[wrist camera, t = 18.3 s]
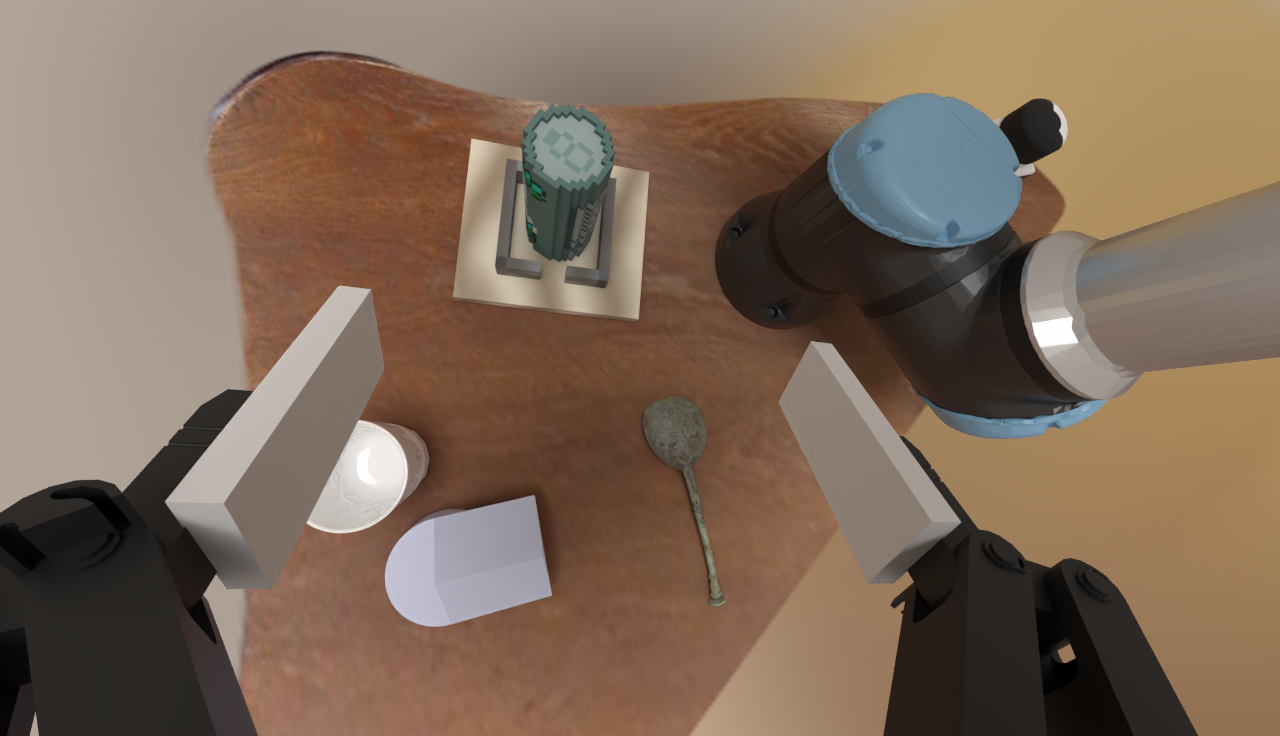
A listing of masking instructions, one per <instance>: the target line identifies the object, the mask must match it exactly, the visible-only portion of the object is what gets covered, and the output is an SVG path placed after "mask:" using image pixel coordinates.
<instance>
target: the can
mask: <svg viewBox="0 0 1280 736" xmlns="http://www.w3.org/2000/svg"><path fill="white" fill-rule="evenodd" d="M605 126H606V124H604V123H603V122H602V121H600V120H599V119H598V118H596V117H595V116H594V115H592V114H591V113H590V112H588V111H587V110H586V109H584V108H583V107H582V106H581V108H580V109H579V110H577V109H576V108H574V107H573V106H572V105H570V104H569V103H568V105H567V106H566V107H564V106H563V105H562V104H560V105H559V106H558V107H555V106H554V105H553V104H552V105H551V106H550V107H549V109H548V110H547V111H546V112H544V111H543V110H541V109H540V110H539V111H538V112H537V114H536V115H535V116H534V117H533V119H532V120H531V121H530V122H529V124H528V125H527V126H526V127H525V129H524V130H523V136H524V140H523V141H522V143H521V144H522V163H523V181H524V200H525V219H526V230H527V236H528V241H529V242H530V243H532V244H533V249H534V250H535V251H537V252H538V253H539V254H541V255H542V256H544V257H545V258H547V259H548V260H550V261H551V260H552V258H554V259H555V260H556V261H558V262H559V263H560V261H561V260H563V261H565V262H566V260H567V259H569V260H570V261H571V260H572V259H573V257H574V256H575V255H576V256H578V257H579V256H580V255H581V253H582V252H583V250H584V249H585V248H586V246H587V245H588V243H589V242H590V239H591V236H592V233H593V230H594V226H595V223H596V220H597V217H598V214H599V210H600V207H601V204H602V201H603V198H604V194H605V191H606V188H607V185H608V182H609V178H610V175H611V172H612V169H613V166H614V163H613V158H614V155H615V152H616V151H615V150H613V149H612V148H613V145H614V143H613V142H611V138H612V135H610V134H609V133H608V132H606V131H605Z"/></svg>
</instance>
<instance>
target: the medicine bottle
mask: <svg viewBox="0 0 1280 736" xmlns="http://www.w3.org/2000/svg"><path fill="white" fill-rule="evenodd" d="M992 121H993V122H994V123H995V124H996V125H997V126H998V127H999V128H1000V129H1001V130H1002V132H1003V133H1004V134H1005V136H1006V137H1007V138H1008V140H1009V142H1010V143H1011V145H1012V147H1013V149H1014V151H1015V153H1016V155H1017V158H1018V161H1019V165H1020V166H1019V168H1018V169H1017V171H1016V172H1014V173H1015V175H1017V176H1018V177H1020V178H1021V179H1023V178H1025V177H1027V176H1029V175H1031V174H1033V173H1034V172H1035V168H1034V165H1033V162H1035V161H1037V160H1039V159H1041V158H1043V157H1045V156H1047V155H1049V154H1051V153H1053V152H1055V151H1057V150H1059V149H1060V148H1061V147H1062V145H1063V144H1064V142H1065V140H1066V138H1067V133H1068V127H1067V122H1066V119H1065V116H1064V114H1063V113H1062V111H1061V110H1060V108H1059V107H1058V106H1056V104H1054V103H1053V102H1051V101H1049V100H1046V99H1033V100H1031V101H1029V102H1028V103H1026V104H1024V105H1023V106H1021V107H1020V108H1018V109H1017V110H1015V111H1013V112H1012V113H1011V114H1009V115H1007V116H1006V117H1004V118H1001V119H995V120H992Z"/></svg>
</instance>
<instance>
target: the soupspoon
mask: <svg viewBox="0 0 1280 736" xmlns="http://www.w3.org/2000/svg"><path fill="white" fill-rule="evenodd" d="M643 429H644V433H645V436H646V439H647V441H648V443H649V445H650V447H651V448H652V450H653V451H654V452H655V454H656V455H657V456H658V457H659V458H660V459H661V460H662V461H664V462H665V463H666V464H668V465H669V466H671V467H673V468H676V469H679V470H682V472H683V475H684V478H685V481H686V484H687V488H688V490H689V494H690V498H691V501H692V505H693V509H694V512H695V516H696V520H697V523H698V527H699V531H700V535H701V539H702V542H703V546H704V550H705V555H706V559H707V564H708V567H709V571H710V574H709V576H708V577H709V579H710V580H711V582H710V589H711V592H710V596H711V598H710V599H709V600H708V603H709V604H710V605H712V606H719V605H722V604H723V603H725V598H724V597H723V596H722V595H721V591H720V588H719V583H718V581H717V577H718V575H717V574H716V572H715V566H714V561H713V556H712V551H711V546H710V542H709V538H708V534H707V530H706V526H705V521H704V517H703V514H702V509H701V505H700V501H699V496H698V492H697V488H696V485H695V481H694V477H693V473H692V469H691V468H692V467H693V466H694V464H695V463H696V462H697V461H698V460H699V458H700V456H701V455H702V453H703V450H704V447H705V443H706V438H707V431H706V425H705V422H704V419H703V416H702V414H701V412H700V410H699V409H698V408H697V406H696V405H695V404H693V403H692V402H691V401H689V400H688V399H686V398H684V397H681V396H667V397H663V398H661V399H659V400H657V401H655V402H654V403H652V404H651V405H650V406H649V407H648V408H647V409H646V410H645V411H644V413H643Z"/></svg>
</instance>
